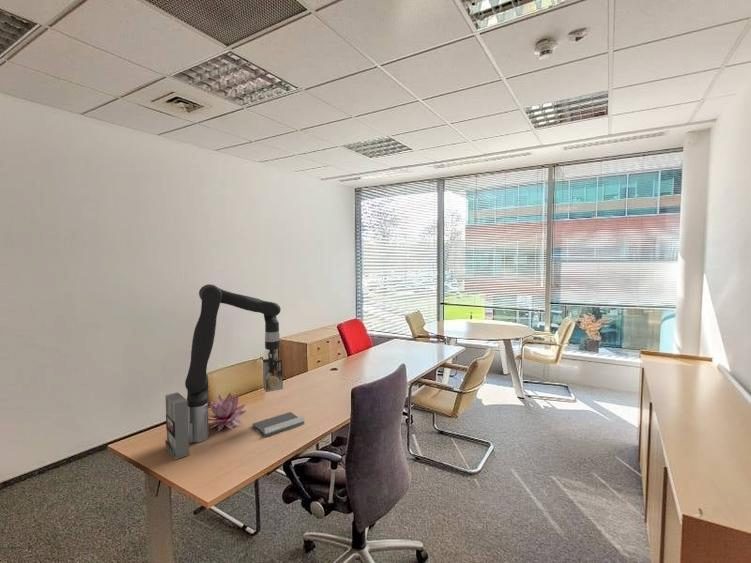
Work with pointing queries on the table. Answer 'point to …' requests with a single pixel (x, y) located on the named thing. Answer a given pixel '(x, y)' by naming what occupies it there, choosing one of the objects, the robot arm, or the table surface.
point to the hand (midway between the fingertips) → (272, 369)
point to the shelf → (278, 424)
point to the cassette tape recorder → (177, 425)
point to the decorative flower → (225, 412)
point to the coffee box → (272, 376)
